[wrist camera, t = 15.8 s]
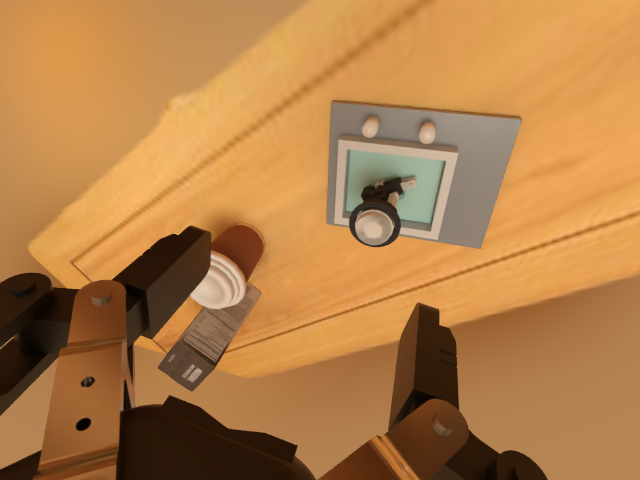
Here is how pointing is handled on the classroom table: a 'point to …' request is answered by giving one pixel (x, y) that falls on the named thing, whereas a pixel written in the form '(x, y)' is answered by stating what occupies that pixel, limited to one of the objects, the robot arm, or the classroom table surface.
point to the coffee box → (206, 341)
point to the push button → (379, 212)
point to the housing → (421, 166)
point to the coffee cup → (230, 267)
